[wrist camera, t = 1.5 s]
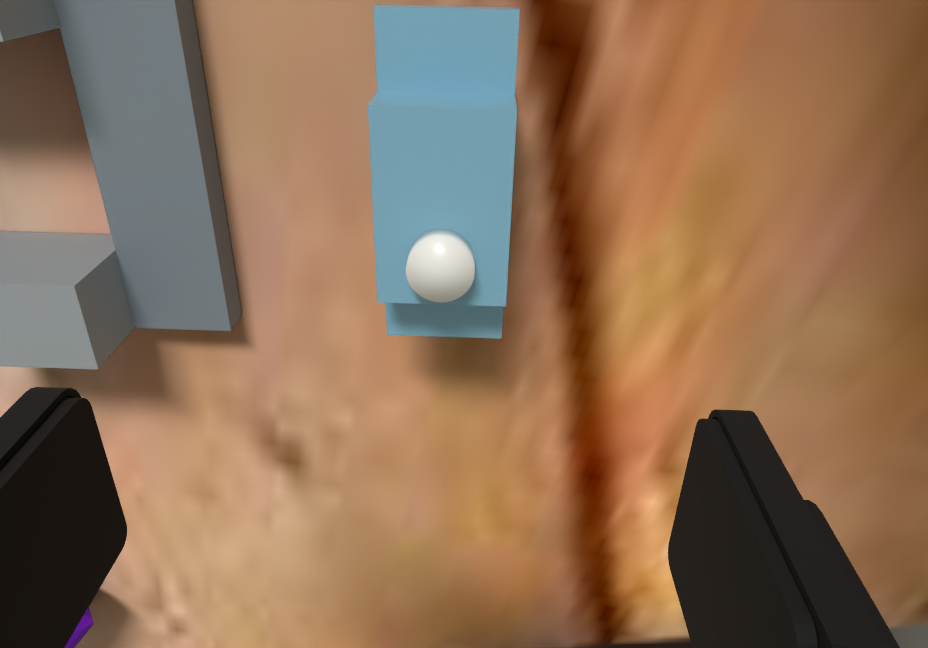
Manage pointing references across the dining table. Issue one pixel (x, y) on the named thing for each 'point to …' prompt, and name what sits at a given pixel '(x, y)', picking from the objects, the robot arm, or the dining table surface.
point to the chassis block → (124, 192)
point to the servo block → (443, 166)
